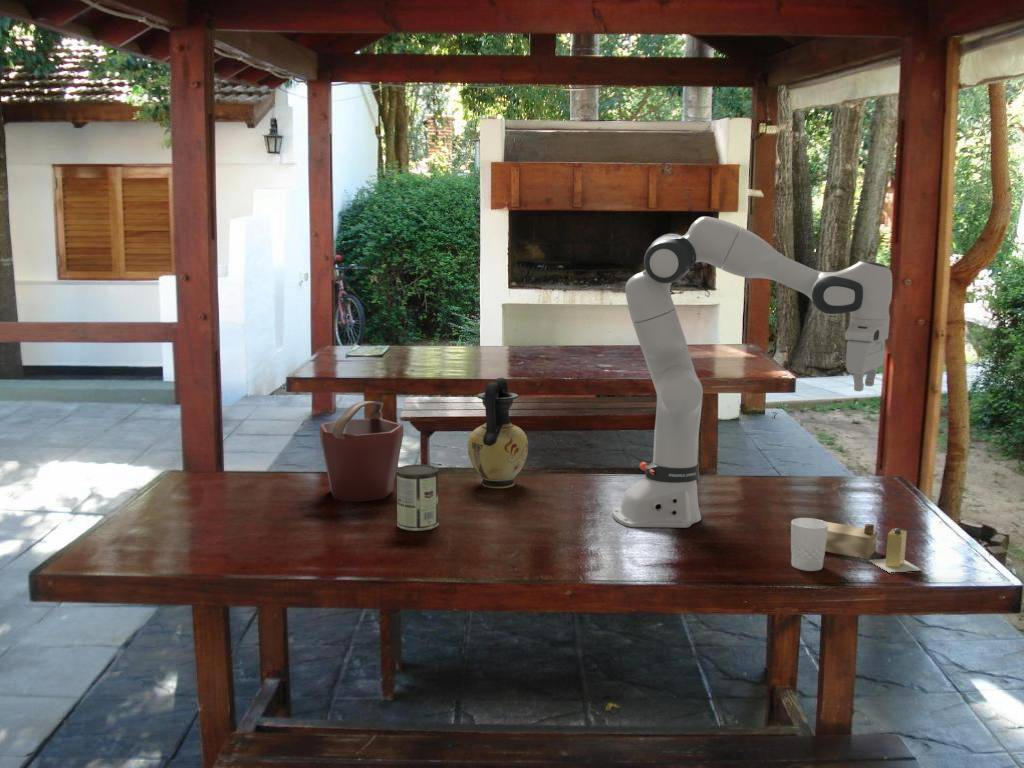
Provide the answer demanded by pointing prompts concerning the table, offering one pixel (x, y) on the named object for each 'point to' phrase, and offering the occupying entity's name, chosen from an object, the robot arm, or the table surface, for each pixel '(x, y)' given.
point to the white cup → (808, 543)
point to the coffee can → (417, 497)
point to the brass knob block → (896, 548)
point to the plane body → (851, 540)
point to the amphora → (497, 439)
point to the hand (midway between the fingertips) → (863, 388)
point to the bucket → (361, 454)
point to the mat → (904, 568)
